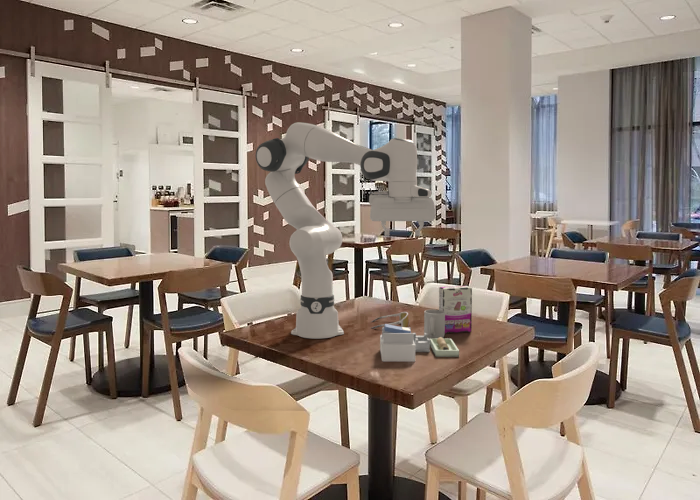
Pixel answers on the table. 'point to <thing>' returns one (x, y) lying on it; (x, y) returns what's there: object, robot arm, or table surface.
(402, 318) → the sunglasses
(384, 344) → the grey card holder
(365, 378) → the table surface
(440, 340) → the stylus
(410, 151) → the robot arm
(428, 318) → the cup
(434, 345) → the tray
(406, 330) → the blue box
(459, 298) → the candy bar box
